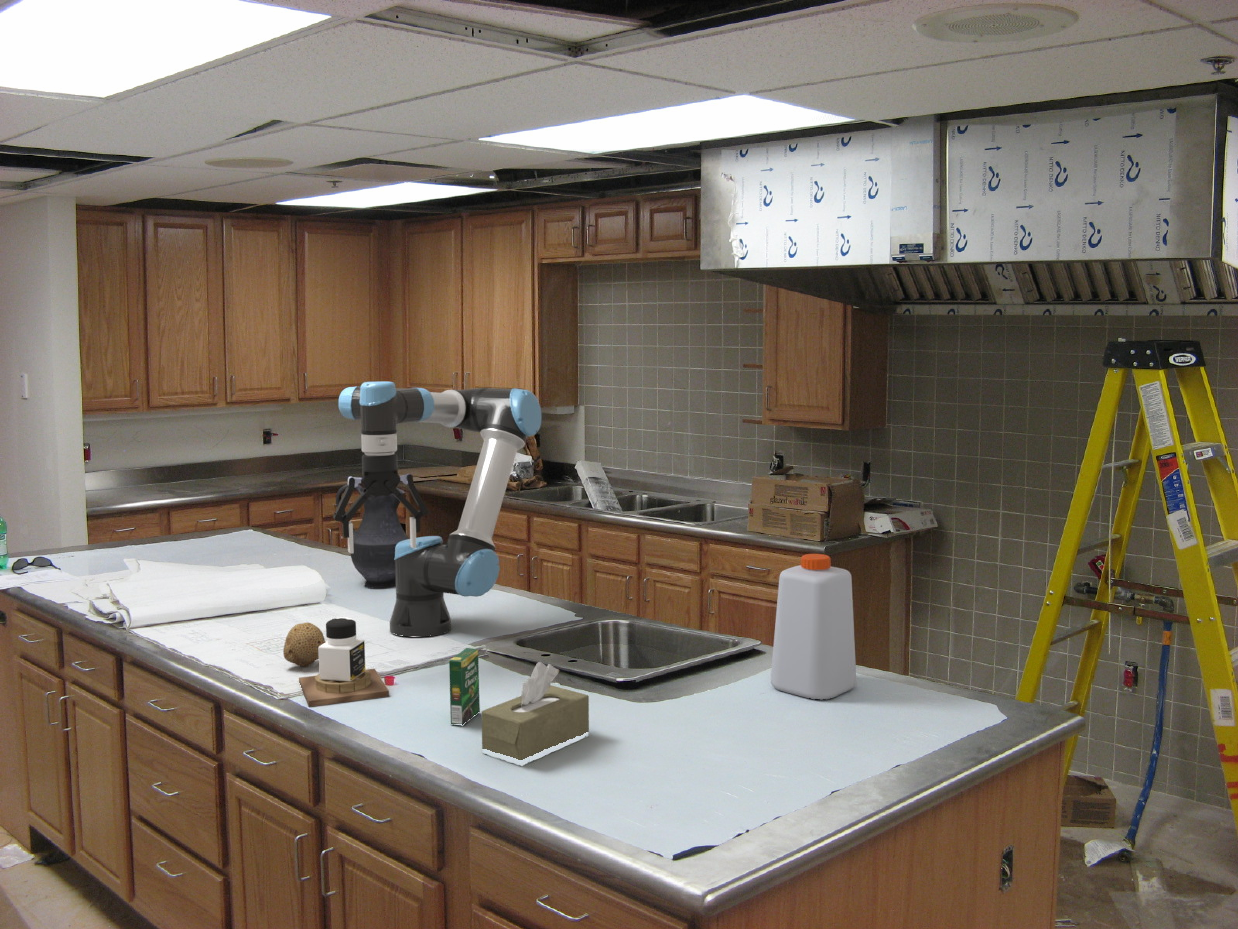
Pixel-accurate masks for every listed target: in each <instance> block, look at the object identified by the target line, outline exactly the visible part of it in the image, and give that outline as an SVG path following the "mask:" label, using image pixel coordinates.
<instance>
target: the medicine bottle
mask: <svg viewBox="0 0 1238 929" xmlns="http://www.w3.org/2000/svg"><path fill="white" fill-rule="evenodd" d="M325 634H326V636H325V643H324V644H322V645H321V646H319V647H318V651H319V659H318V669H319V670H318V674H319V678H320V680H332V681H347V682H351V681H352V680H354V679H355V678H357V677H358V676H359V675H361V674H362V673H364V672H365V670H366V650H365V648H366V647H365V646H366V645H365V639H363V638H357V622H356V620H355V619H353V618H351V617H336V618H335V617H334V618H332V619H330V620H327V622H326V623H325Z"/></svg>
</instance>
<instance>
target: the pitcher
mask: <svg viewBox="0 0 1238 929" xmlns="http://www.w3.org/2000/svg"><path fill="white" fill-rule="evenodd" d="M346 487H347V484H344V485H343V486H342V487H340V488H339V489H338V491H336V492H337V493H336V495H335V506H336V508H337V507H338V505H339V502H340V500H341V498H342V496H343V494H344V492H345V489H346ZM364 489H365V488H364V486H363V485H360V484H358V486H357V487H355V488H354V490H356V491H357V492H358V493H359V495H360V494H361V492H362V491H363V490H364ZM396 489H397V490H398V491H399V492H400V493H401V494H402V495H403V496H404V497H405V495H406V494H405V493H406V492H405V491H404V490H403V489H400V488H398V487H396ZM400 503H401V502H400V501H399V500H398V499H397V498H396V497H395V496H394V495H393V494H391V495H389V496H382V495H381V496H378V497H374V496H372V495H370V497H369V498H368V499H367V500H366V501H365V502H364V503H363V515H362V519H361V522H360V525H359V527H358V529H357V530H355V528H354V527H353V548H354V553H351V554H350V557H351V558H350V560H351V561H352V564H353V566H354V569H355V570H356V571H357V572H358V573H359V574H360V575H361V576H362V577H363V578H364V580H366V581H365V582H364V588H366V589H370V590H371V589H372V590H383V589H384V590H385V589H390V588H394V587H395V588H396V581H395V560H394V558H395V547H396V545H397V544H398V543H399V542H401V541H404V540H407V539H410V536H409V535H408V534H406V532H405V530H404V529H403V526H402V524H401V522H400V518H399V515H398V507H399V505H400ZM346 512H347V511H346V509H345V510H344V512H343V515H342V516H344V515H345V513H346ZM350 521H351V520H350ZM350 521H349V522H350Z"/></svg>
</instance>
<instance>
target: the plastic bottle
mask: <svg viewBox="0 0 1238 929" xmlns="http://www.w3.org/2000/svg"><path fill="white" fill-rule="evenodd" d="M831 560H832V559H831V557H830V556H829V555H827V554H821V553H806V554H803V555H802V556H801V558H800V565H796V566H792V567H789V568H786V569H784V570H782V571H781V572H780V574H779V576H778V577H779V579H778V590H777V601H776V602H777V603H776V613H775V625H774V636H773V648H772V659H771V668H770V669H771V670H770V671H771V672H770V684H771V686H772V687H773V688H774V689H775V690H778V691H780V692H784V693H788V694H791V695H794V696H799V697H802V698H807V699H809V698H811V700H815V699H820V700H819V701H824V700H823V699H826V700H830V698H831V699H834V698H835V697H838V696H840V695H842V694H844V693H846V692H848V691H851V690H852V689H854V688H855V687H856V684H857V670H856V668H857V667H856V666H857V664H856V649H855V646H856V645H855V626H854V625H855V624H854V623H855V622H854V606H853V605H854V601H853V584H852V583H853V582H852V581H853V580H852V573H851V572H850V571H849V570H847V569H845V568H841V567H836V566H831V565H832V563H831Z"/></svg>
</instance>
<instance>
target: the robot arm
mask: <svg viewBox="0 0 1238 929" xmlns="http://www.w3.org/2000/svg"><path fill="white" fill-rule="evenodd" d="M338 410H339V412H340V414H341V415H342V416H343V417H344V418H345V419H349V420H354V421H360V426H361V427H360V428H361V429H360V431H361V435H360V436H361V438H360V439H361V452H362V453H364V454H362V456H361V468H362V470H361V471H362V472H361V477H353V476H351V475H349V476H347V478H346V479H347V481H346V485H347V487H346V489H345V491H344V492H343V493H342V496H341V500H340V502H339V505H338V507H337V506H336V509H335V511H334V513H333V516H332V518H333V520H335V521H336V522H340V523H341V524H342V525H341V526H342V527H341V528H342V529H341V530H342V537H343V538H344V539H347V551H348V553H349V554H350V555H351V553H354V548H353V528H354V524H353V522H352V521H351V520H352V519H353V518H354V516H355V515H356V514H357V513H358V511H359V510H360V509H361V507H362V506H364V504H363V503H364V502H365V501H366V500H367V499H368V498H369V497H370V495H372V496H374V497H378V496H381V495H382V496H389V495H391V494H393V495H394V496H395V497H396V498H397V499H398V500H399V501H400V503H401V504H402V505H403V506H404V508H406V510H407V511H409V513H410V514H411V516H412V517H411V516H410V517H409V539H407V540H404V541H401V542H399V543H398V544H397V545H396V547H395V558H394V560H395V581H396V586H395V604H394V606H393V610H392V613H391V617H390V621H389V632H390V633H391V634H392V633H395V634H397V635H403V636H429V637H434V636H440V635H442V634H445V633H447V632H449V631H450V630H451V629H452V618H451V616H450V612H449V610H448V607H447V605H446V602H445V597H444V594H450V595H457V596H461V597H464V598H465V597H466V598H467V597H476V598H477V597H482V596H484V595H485V594H486V593H487V594H488V593H489V592H490V591H491V590H492V588H493V587H494V586H495V584H496V582H497V580H498V577H499V573H500V568H501V567H500V565H499V563H500V559H499V556H498V554H497V553H496V552H495V551H496V545H495V544H494V542H493V536H494V531H495V528H496V525H497V521H498V518H499V514H500V511H501V508H502V504H503V501H504V497H505V494H506V490H507V486H508V483H509V479H510V476H511V473H512V469H513V465H514V462H515V459H516V455H517V452H518V451H519V450H521V449H522V448H524V447H525V445H526V442H527V439H528V437H532V436H535V435H536V434H537V433H538V432H539V431H540V429H541V425H542V408H541V405H540V402H539V399H538V398H537V396H536V395H535V394H534V393H533V392H532V391H530V390H529V389H520V388H517V387H514V388H499V387H498V388H494V387H476V388H475V387H474V388H466V389H465V388H464V389H447V390H444V391H442V392H435V391H432V392H431V391H429V390H428V389H426V388H423V387H416V386H415V387H411V388H410V387H409V388H397V387H396V384H395V382H394V381H393V382H392V381H364V382H363V383H361V385H360V386H357V385H356V386H349V387H346V388H344V389H343V390H342V391H341V392H340V394H339V397H338ZM405 423H427V424H430V423H431V424H433V423H434V424H440V425H442V426H443V427H446V428H453V429H454V428H455V429H460V430H464V431H465V430H466V431H469V432H474V433H480V436H481V438H482V440H483V443H482V446H481V451H480V452H479V456H478V460H477V464H476V467H475V470H474V473H473V476H472V477H473V478H472V480H471V484H470V487H469V490H468V494H467V498H466V500H465V504H464V507H463V510H462V513H461V517H460V521H459V523H458V526H457V530H455V531H453V532H451V533H450V534H449V536H448V539H447V542H446V544H443V543H444V541H443V538H442V537H441V536H439V535H428V536H420V537H417V533H420V532H421V528H422V527H421V518H422V517H423V516H427V515H429V509H428V508H427V506H426V504H425V502H424V500H423V498H422V497H421V495H420V493H419V491H418V489H417V486H416V485H415V483H414V477H413V475H412V474H411V473H408V472H407V473H405V474H401V475H400V474H399V469H398V468H399V467H398V454H397V453H396V452H397V451H398V437H397V432H398V431H397V430H398V427H397V426H398V424H405ZM400 482H402V483H403V484H404V485H406V486H407V489H408V491H409V493H410V495H411V496H412V498H413V500H414V501H415V503H416V505H417V507H418V509H419V510H417V509H416V508H415V507H414V506H413V504H411V502H410V501H408V499H407V498H406V497H405V495H404V496H403V495H402V494H401V493H400V492H399V491H398V490H397V489H396V488H398V487H397V486H398V485H399V484H400ZM360 484H361V486H362V487H363V488H365V489H364V490H363V491H362V492H361V494H360V493H359V495H358V497H357V498H356V499H355V501H354V502H353V503H352V504H351V506H349V508H348V510H347V511H346V508H347V507H348V506H347V505H348V504H349V501H350V499H351V497H352V496H353V492H354V490H355V489H354V488H355V487H357V486H358V485H360ZM344 510H345V512H346V513H345V515H344V516H342V515H343V512H344ZM349 521H350V522H349ZM397 635H396V636H397ZM430 635H431V636H430Z"/></svg>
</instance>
